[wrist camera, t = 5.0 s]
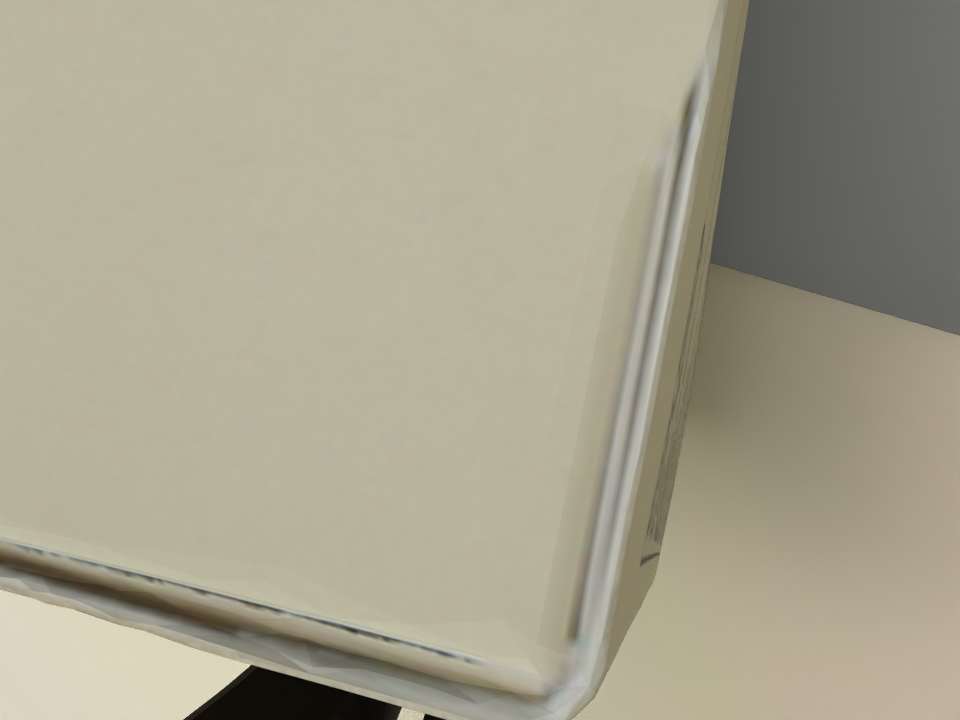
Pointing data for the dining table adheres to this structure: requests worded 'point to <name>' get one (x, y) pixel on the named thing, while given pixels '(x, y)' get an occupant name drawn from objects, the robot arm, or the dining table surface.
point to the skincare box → (357, 326)
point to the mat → (848, 154)
